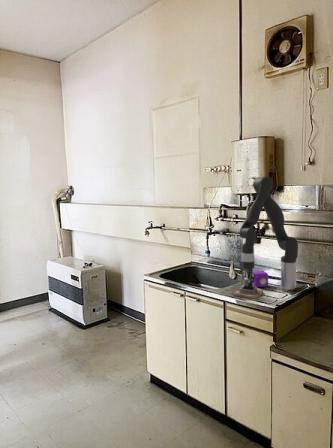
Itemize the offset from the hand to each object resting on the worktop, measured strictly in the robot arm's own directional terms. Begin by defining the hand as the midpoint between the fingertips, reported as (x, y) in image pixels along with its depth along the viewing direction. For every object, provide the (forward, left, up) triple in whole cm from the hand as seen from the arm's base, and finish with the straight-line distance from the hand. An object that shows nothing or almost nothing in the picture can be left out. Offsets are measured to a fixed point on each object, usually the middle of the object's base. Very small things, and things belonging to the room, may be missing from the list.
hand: (248, 287), depth 211 cm
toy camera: (-20, +1, -5) cm, 21 cm away
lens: (0, 0, -1) cm, 1 cm away
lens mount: (0, 0, -4) cm, 4 cm away
